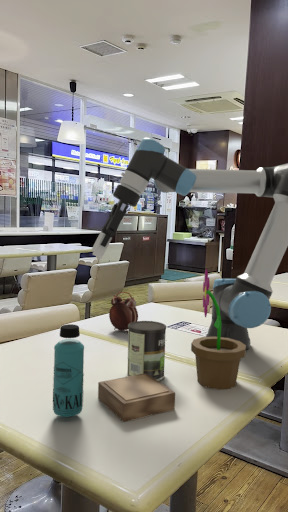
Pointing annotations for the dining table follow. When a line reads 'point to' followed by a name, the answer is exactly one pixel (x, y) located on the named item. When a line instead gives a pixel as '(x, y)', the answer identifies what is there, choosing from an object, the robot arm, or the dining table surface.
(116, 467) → the dining table surface
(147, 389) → the walnut base
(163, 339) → the coffee can
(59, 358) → the beverage bottle
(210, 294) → the flowerpot
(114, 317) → the alarm clock
